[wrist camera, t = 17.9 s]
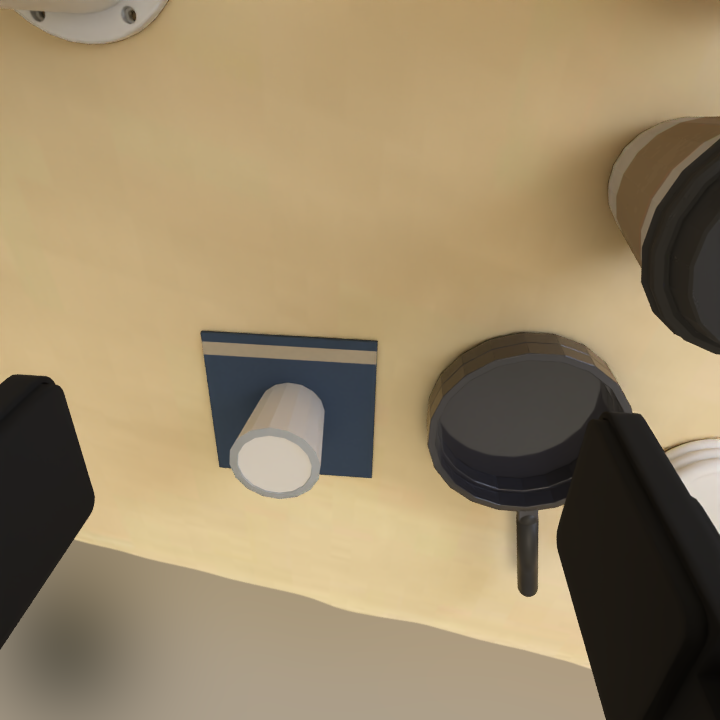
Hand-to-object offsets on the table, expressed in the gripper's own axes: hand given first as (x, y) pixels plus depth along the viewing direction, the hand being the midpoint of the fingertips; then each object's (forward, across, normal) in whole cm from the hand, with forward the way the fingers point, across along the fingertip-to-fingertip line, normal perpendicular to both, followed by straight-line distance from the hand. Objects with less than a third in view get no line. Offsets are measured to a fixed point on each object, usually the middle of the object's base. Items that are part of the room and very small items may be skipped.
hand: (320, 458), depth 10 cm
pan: (+30, -12, +20) cm, 38 cm away
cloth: (+30, +7, +21) cm, 38 cm away
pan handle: (+28, -14, +33) cm, 46 cm away
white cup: (+30, +7, +21) cm, 37 cm away
